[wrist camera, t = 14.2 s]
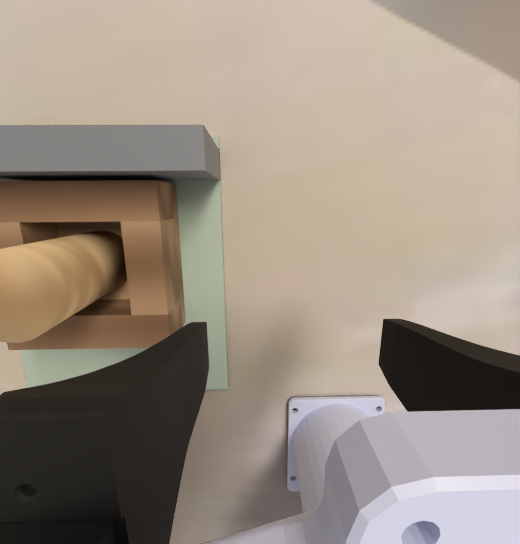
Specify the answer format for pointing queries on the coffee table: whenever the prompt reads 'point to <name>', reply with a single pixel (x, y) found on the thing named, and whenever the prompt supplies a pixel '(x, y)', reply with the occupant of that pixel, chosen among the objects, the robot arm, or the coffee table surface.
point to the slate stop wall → (107, 153)
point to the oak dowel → (56, 280)
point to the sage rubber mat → (196, 285)
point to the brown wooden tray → (137, 250)
